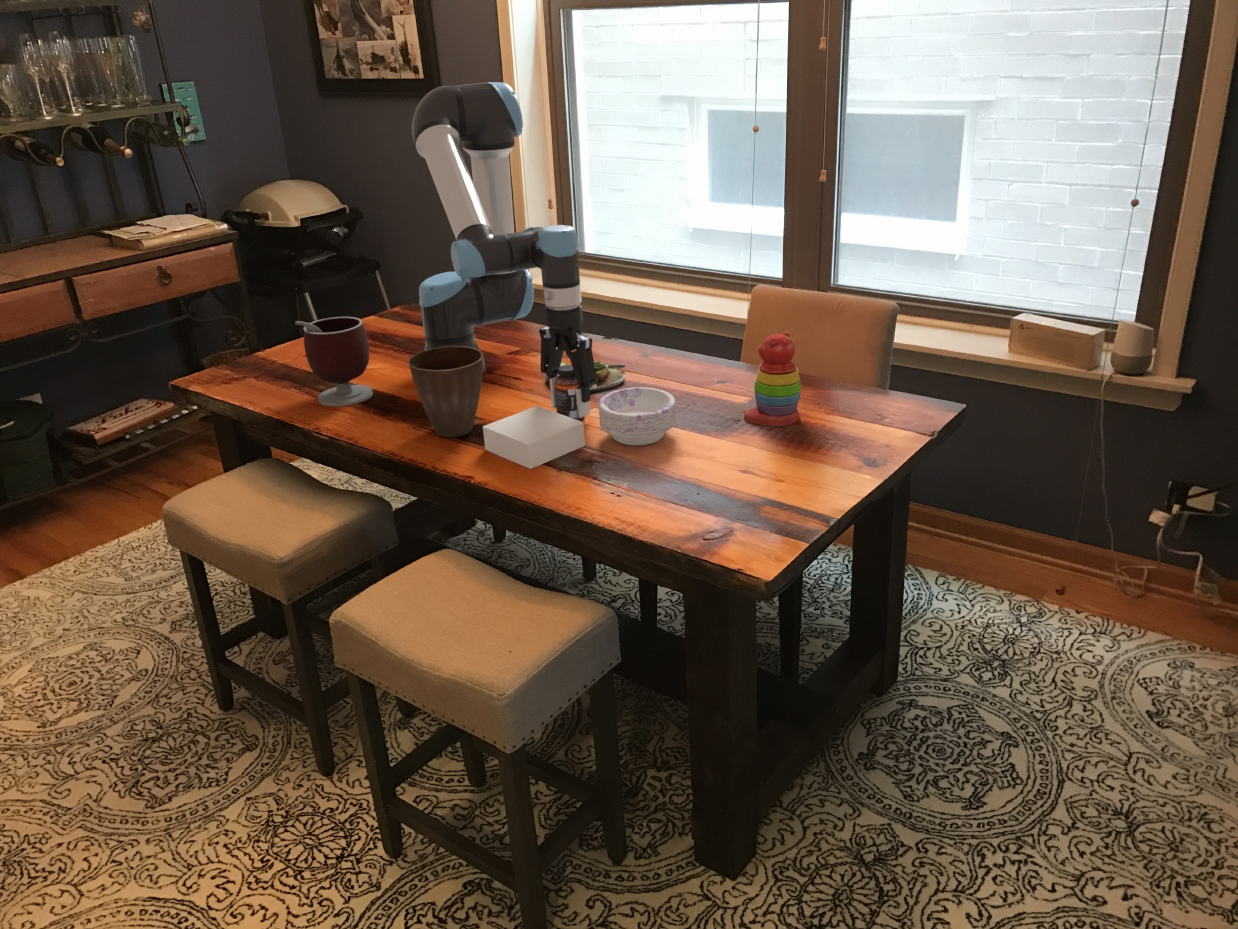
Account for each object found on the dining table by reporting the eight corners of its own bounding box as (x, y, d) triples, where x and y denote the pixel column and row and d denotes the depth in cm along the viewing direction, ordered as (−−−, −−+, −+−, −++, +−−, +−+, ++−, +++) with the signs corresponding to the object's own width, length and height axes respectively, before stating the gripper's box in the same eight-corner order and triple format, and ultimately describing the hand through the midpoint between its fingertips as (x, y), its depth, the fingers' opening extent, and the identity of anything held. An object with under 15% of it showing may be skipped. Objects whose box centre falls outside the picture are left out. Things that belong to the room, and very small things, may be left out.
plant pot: (500, 418, 210) (492, 346, 203) (477, 446, 197) (468, 370, 190) (434, 415, 213) (424, 345, 206) (407, 443, 200) (396, 368, 193)
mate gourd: (356, 381, 236) (342, 300, 227) (388, 394, 227) (374, 310, 218) (297, 400, 226) (280, 315, 218) (327, 414, 217) (311, 326, 209)
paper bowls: (654, 457, 188) (653, 419, 185) (586, 445, 195) (584, 407, 192) (689, 428, 200) (688, 392, 197) (623, 418, 207) (621, 382, 204)
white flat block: (485, 449, 195) (482, 426, 193) (539, 428, 204) (537, 405, 202) (530, 469, 186) (528, 444, 184) (585, 445, 194) (583, 422, 192)
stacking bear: (771, 404, 210) (773, 323, 202) (811, 415, 203) (814, 332, 196) (739, 419, 203) (739, 336, 195) (779, 431, 196) (781, 346, 189)
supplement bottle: (581, 424, 205) (578, 372, 200) (554, 423, 206) (549, 372, 201) (588, 413, 210) (584, 362, 205) (561, 412, 211) (557, 362, 207)
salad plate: (610, 362, 241) (609, 344, 239) (644, 384, 226) (643, 364, 224) (537, 377, 233) (535, 359, 231) (567, 400, 219) (565, 381, 217)
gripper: (516, 301, 202) (526, 404, 212) (583, 318, 189) (590, 428, 198) (544, 293, 207) (552, 395, 216) (611, 309, 193) (617, 417, 203)
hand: (570, 410), depth 207 cm, fingers open, 8 cm apart
